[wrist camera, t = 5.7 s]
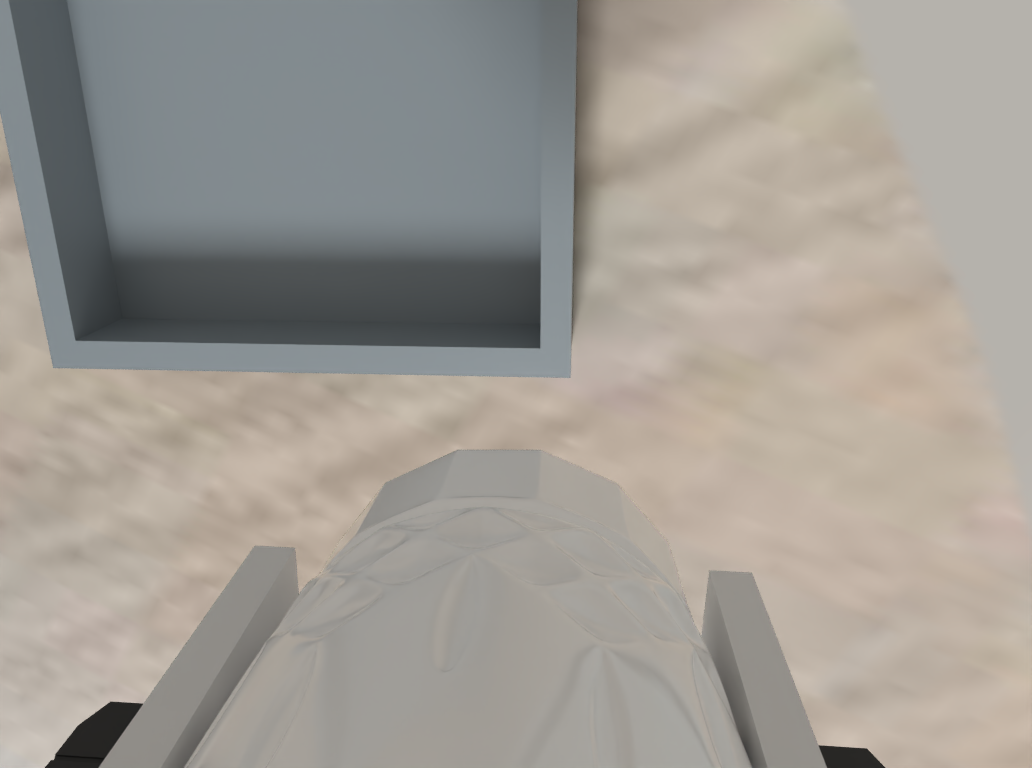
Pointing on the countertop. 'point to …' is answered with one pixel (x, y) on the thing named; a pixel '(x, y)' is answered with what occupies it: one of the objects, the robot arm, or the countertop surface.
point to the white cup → (485, 636)
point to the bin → (297, 182)
